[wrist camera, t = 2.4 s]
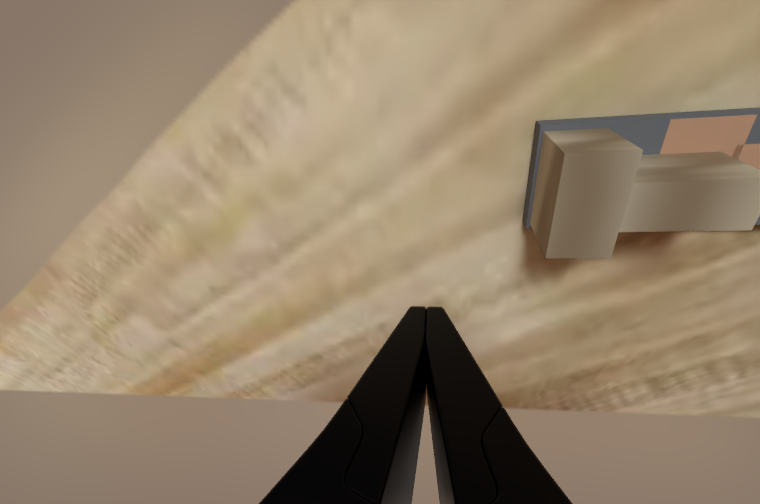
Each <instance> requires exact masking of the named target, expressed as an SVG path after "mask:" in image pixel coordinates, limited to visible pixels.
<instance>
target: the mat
mask: <svg viewBox="0 0 760 504" xmlns="http://www.w3.org/2000/svg"><path fill="white" fill-rule="evenodd" d="M597 128H609V129H611V130H612V131H614V132H615V133H617V134H619V135H620V136H622V137H623V138H625V139H626V140H628V141H630V142H631V143H633V144H634V145H636V146H637V147H639V148H641V149H642V150H643V153H642V155H652V154H675V153H698V152H720V151H721V152H723V153H725V154H727V155H729V156H731V157H734V158H736V159H738V160H740V161H742V162H744V163H746V164H749V165H751V166H753V167H755V168H757V169H759V170H760V108H747V109H730V110H713V111H696V112H679V113H663V114H646V115H629V116H612V117H595V118H579V119H562V120H545V121H536V126H535V133H534V141H533V148H532V156H531V163H530V170H529V178H528V185H527V193H526V200H525V207H524V215H523V223H524V225H525V228H526V229H532V228H531V225H530V220H531V213H532V206H533V200H534V193H535V186H536V179H537V172H538V166H539V159H540V152H541V145H542V139H543V132H544V131H561V130H579V129H597ZM755 225H760V216H759V218H758V220H757V222H756V223H755Z"/></svg>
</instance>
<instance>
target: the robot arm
mask: <svg viewBox="0 0 760 504" xmlns="http://www.w3.org/2000/svg"><path fill="white" fill-rule="evenodd" d="M426 388H427V396H428V406H429V415H430V423H431V432H432V440H433V449H434V457H435V466H436V474H437V483H438V491H439V500H440V504H572V503H571V501H570V500H569V499H568V497H567V496H566V495H565V493H564V492H563V491H562V490H561V488H560V487H559V486H558V485H557V483H556V482H555V481H554V479H553V478H552V477H551V475H550V474H549V473H548V472H547V470H546V469H545V468H544V466H543V465H542V464H541V462H540V461H539V460H538V458H537V457H536V455H535V454H534V453H533V451H532V450H531V449H530V448H529V446H528V445H527V443H526V442H525V440H524V439H523V437H522V436H521V434H520V433H519V431H518V429H517V428H516V426H515V425H514V424H513V422H512V420H511V418H510V417H509V415H508V413H507V412H506V410H505V409H504V408H502V404H501V402H500V401H499V399H498V397H497V396H496V394H495V392H494V391H493V389H492V387H491V386H490V384H489V382H488V381H487V379H486V378H485V376H484V374H483V373H482V371H481V369H480V368H479V366H478V364H477V363H476V361H475V359H474V358H473V356H472V354H471V353H470V351H469V350H468V348H467V346H466V345H465V343H464V341H463V340H462V338H461V336H460V335H459V333H458V331H457V330H456V328H455V327H454V325H453V323H452V322H451V320H450V318H449V317H448V315H447V313H446V312H445V310H444V309H443V308H442V307H427V310H426V308H425V307H420V306H412V307H410V308H409V309H408V311H407V312H406V314H405V315H404V317H403V318H402V319H401V321H400V322H399V324H398V325H397V327H396V328H395V329H394V331H393V332H392V334H391V335H390V337H389V338H388V339H387V341H386V342H385V344H384V345H383V347H382V348H381V350H380V351H379V352H378V354H377V355H376V357H375V358H374V360H373V361H372V362H371V364H370V365H369V367H368V368H367V370H366V371H365V372H364V374H363V375H362V377H361V378H360V380H359V381H358V383H357V384H356V385H355V387H354V388H353V390H352V391H351V393H350V394H349V395H348V397H347V398H348V399H346V400H345V401H344V402H343V404H342V405H341V407H340V408H339V410H338V411H337V412H336V414H335V415H334V416H333V418H332V419H331V421H330V422H329V423H328V425H327V426H326V427H325V429H324V430H323V431H322V432H321V434H320V435H319V436H318V437H317V438H316V439H315V441H314V442H313V443H312V444H311V445H310V447H309V448H308V449H307V450H306V451H305V452H304V453H303V455H302V456H301V457H300V458H299V459H298V460H297V461H296V462H295V464H294V465H293V466H292V467H291V468H290V469H289V470H288V472H287V473H286V474H285V475H284V476H283V477H282V478H281V480H280V481H279V482H278V483H277V484H276V485H275V486H274V487H273V488H272V490H271V491H270V492H269V493H268V494H267V495H266V496H265V497H264V499H263V500H262V501H261V502H260V503H259V504H411V502H412V495H413V488H414V481H415V473H416V466H417V459H418V451H419V444H420V437H421V429H422V422H423V414H424V407H425V400H426Z"/></svg>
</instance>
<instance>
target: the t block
mask: <svg viewBox="0 0 760 504" xmlns="http://www.w3.org/2000/svg"><path fill="white" fill-rule="evenodd" d="M642 153H643V150H642V149H641V148H639V147H637V146H636V145H634V144H633V143H631V142H630V141H628V140H626V139H625V138H623V137H622V136H620V135H619V134H617V133H615V132H614V131H612V130H611V129H609V128H597V129H579V130H561V131H544V132H543V139H542V145H541V152H540V159H539V166H538V172H537V179H536V186H535V193H534V200H533V206H532V213H531V220H530V225H531V228H532V230H533V232H534V234H535V236H536V238H537V241H538V243H539V245H540V247H541V249H542V251H543V254H544V256H545V258H611V257H612V253H613V250H614V246H615V243H616V240H617V236H618V233H619V232H666V231H736V230H752V229H753V227H754V225H755V223H756V222H757V220H758V218H759V216H760V170H759V169H757V168H755V167H753V166H751V165H749V164H746V163H744V162H742V161H740V160H738V159H736V158H734V157H731V156H729V155H727V154H725V153H723V152H721V151H720V152H698V153H675V154H652V155H642Z"/></svg>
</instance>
